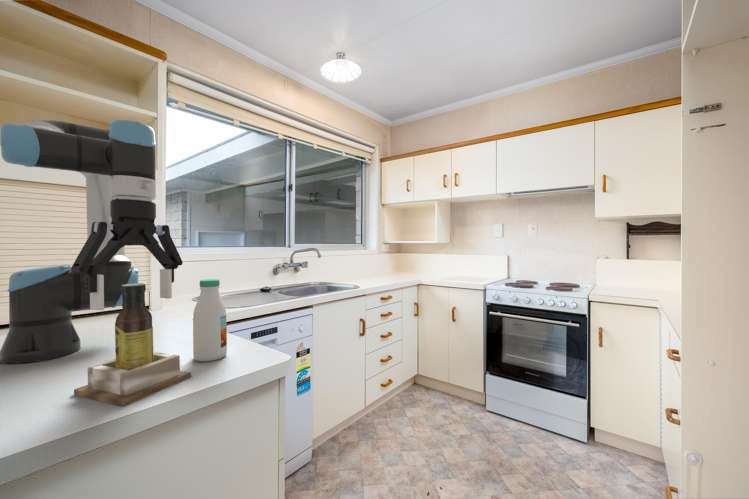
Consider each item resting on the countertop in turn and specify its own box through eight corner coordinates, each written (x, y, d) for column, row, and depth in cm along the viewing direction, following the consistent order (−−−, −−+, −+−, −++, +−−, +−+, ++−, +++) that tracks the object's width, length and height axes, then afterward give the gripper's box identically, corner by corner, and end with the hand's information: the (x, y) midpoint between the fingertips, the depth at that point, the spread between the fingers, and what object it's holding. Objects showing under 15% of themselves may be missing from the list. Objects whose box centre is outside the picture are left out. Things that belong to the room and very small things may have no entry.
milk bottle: (213, 363, 80) (212, 281, 80) (186, 361, 81) (185, 281, 81) (233, 353, 87) (232, 278, 87) (207, 351, 89) (207, 278, 89)
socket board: (74, 394, 63) (73, 368, 63) (146, 368, 76) (146, 347, 76) (122, 406, 58) (122, 378, 58) (191, 376, 71) (190, 354, 71)
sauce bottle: (124, 376, 69) (124, 282, 69) (158, 373, 71) (157, 281, 71) (109, 389, 63) (108, 286, 63) (146, 385, 65) (145, 285, 65)
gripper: (70, 190, 54) (72, 317, 54) (199, 205, 77) (199, 295, 78) (44, 192, 56) (46, 314, 57) (176, 206, 80) (176, 293, 80)
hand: (134, 303), depth 67 cm, fingers open, 13 cm apart
